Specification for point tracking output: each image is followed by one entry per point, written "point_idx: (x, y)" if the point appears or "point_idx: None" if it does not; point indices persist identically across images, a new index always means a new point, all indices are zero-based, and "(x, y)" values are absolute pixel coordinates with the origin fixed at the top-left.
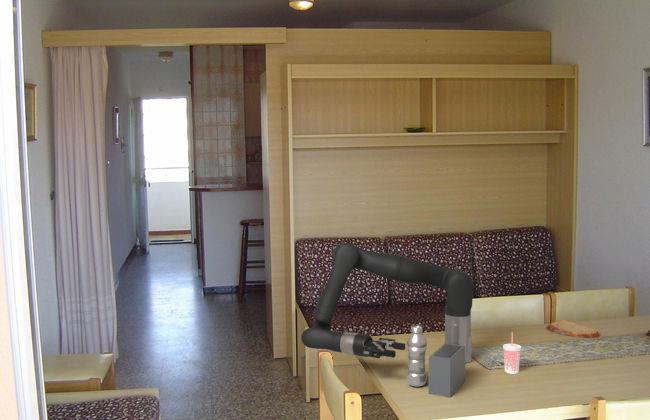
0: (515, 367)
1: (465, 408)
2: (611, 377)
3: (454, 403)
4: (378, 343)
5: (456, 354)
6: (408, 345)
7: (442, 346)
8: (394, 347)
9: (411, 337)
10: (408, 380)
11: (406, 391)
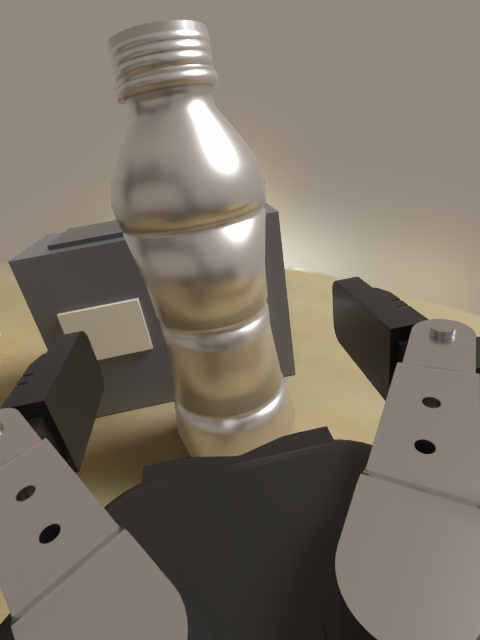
0: None
1: (315, 292)
2: (11, 272)
3: (307, 311)
4: (186, 596)
5: None
6: (258, 204)
7: (76, 247)
8: (69, 456)
9: (233, 130)
10: (292, 427)
11: (352, 437)
